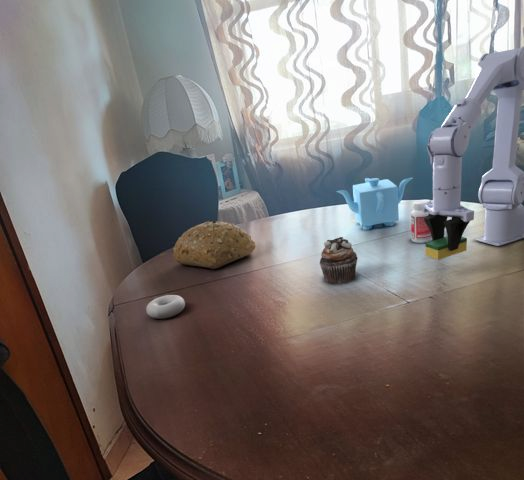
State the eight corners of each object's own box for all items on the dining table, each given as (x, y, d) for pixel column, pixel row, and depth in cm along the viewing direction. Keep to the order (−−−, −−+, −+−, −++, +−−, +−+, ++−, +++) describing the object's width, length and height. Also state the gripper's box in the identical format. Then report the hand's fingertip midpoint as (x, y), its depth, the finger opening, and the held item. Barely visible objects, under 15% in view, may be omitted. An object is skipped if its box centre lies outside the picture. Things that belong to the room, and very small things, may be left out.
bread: (168, 266, 154) (158, 231, 149) (215, 246, 167) (207, 212, 161) (216, 275, 139) (207, 236, 133) (264, 251, 151) (257, 214, 145)
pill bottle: (438, 238, 133) (438, 199, 128) (423, 244, 131) (423, 205, 126) (420, 235, 138) (420, 197, 133) (406, 241, 136) (405, 203, 130)
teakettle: (384, 234, 146) (382, 185, 139) (336, 230, 158) (332, 185, 151) (415, 216, 156) (415, 171, 149) (368, 214, 169) (365, 172, 162)
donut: (187, 302, 124) (150, 308, 124) (184, 290, 122) (147, 296, 122) (185, 317, 115) (145, 324, 115) (182, 304, 113) (141, 311, 113)
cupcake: (314, 278, 123) (310, 241, 118) (345, 268, 125) (342, 231, 120) (333, 288, 115) (329, 249, 110) (366, 276, 117) (363, 238, 112)
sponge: (452, 246, 111) (453, 234, 109) (466, 250, 107) (467, 238, 106) (425, 255, 109) (425, 243, 107) (438, 259, 105) (438, 247, 104)
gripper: (410, 187, 106) (411, 245, 112) (455, 194, 94) (453, 258, 100) (435, 180, 108) (435, 237, 114) (483, 186, 95) (479, 250, 102)
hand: (445, 247), depth 107 cm, fingers closed on sponge, 4 cm apart
